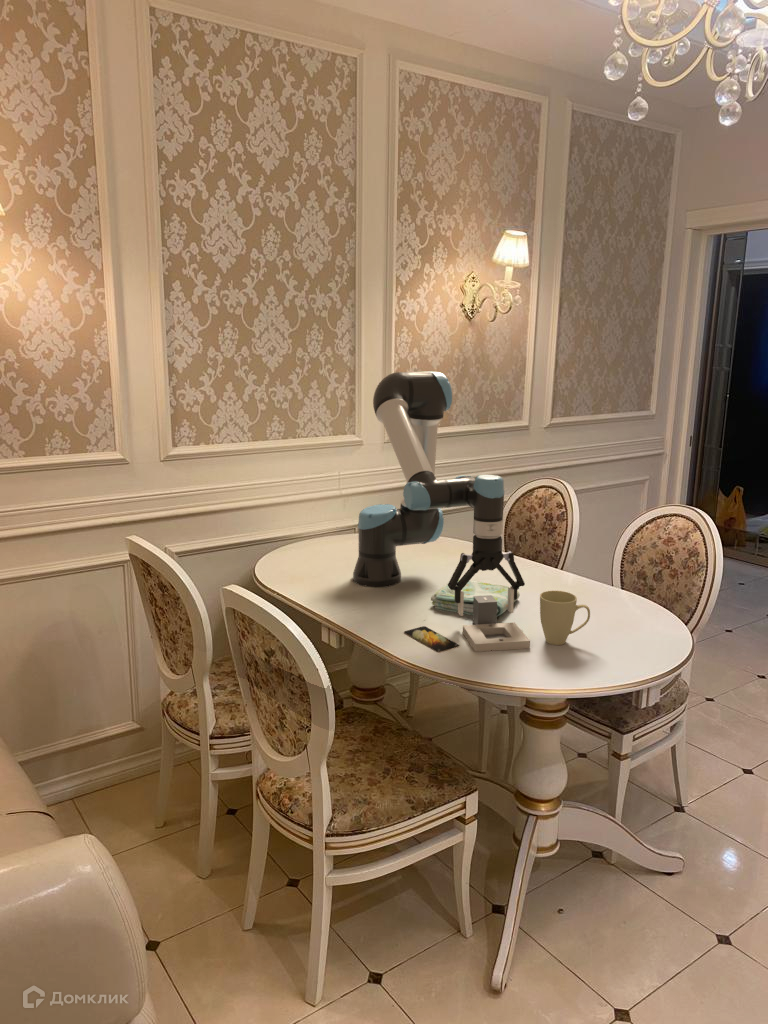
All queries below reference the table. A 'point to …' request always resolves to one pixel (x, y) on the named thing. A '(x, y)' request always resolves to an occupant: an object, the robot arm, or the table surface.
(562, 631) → the mug
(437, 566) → the table surface
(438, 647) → the smartphone
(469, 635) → the socket plate
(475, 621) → the block
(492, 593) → the towel
